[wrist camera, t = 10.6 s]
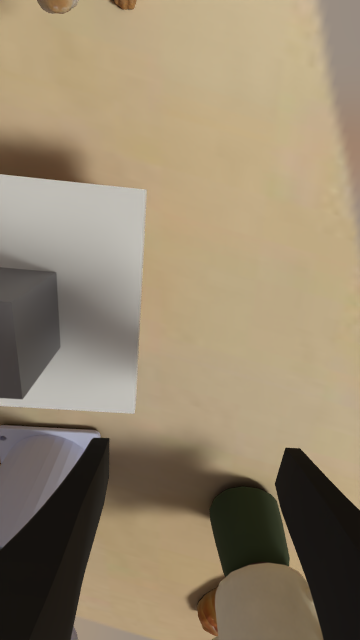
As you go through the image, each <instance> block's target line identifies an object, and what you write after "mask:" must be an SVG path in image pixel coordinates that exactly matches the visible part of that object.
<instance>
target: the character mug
mask: <svg viewBox="0 0 360 640" xmlns="http://www.w3.org/2000/svg"><path fill="white" fill-rule="evenodd" d="M209 510H210V521H211V525H212V530H213V534H214V539H215V543H216V547H217V550H218V554H219V558H220V561H221V565H222V569H223V573H224V575H225V578H224V579H223V580H222V581H221V582H220V583H219V586H218V588H217V591H216V594H215V610H216V619H217V628H218V636H217V637H215V638H213V639H212V640H323V636H322V632H321V628H320V624H319V620H318V617H317V613H316V610H315V606H314V603H313V599H312V595H311V592H310V588H309V585H308V583H307V581H306V580H305V579H304V578H303V576H302V575H301V574H300V573H299V572H298V571H296V570H294V569H292V568H291V567H289V553H288V548H287V543H286V538H285V533H284V528H283V523H282V519H281V515H280V511H279V508H278V504H277V501H276V500H275V498H274V497H273V496H272V495H271V494H269V493H267V492H265V491H263V490H261V489H258V488H251V487H244V486H242V487H237V488H231V489H227V490H225V491H224V492H222V493H221V494H219V495H218V496H217V497H215V499H214V501H213V503H212V505H211V507H210V509H209Z"/></svg>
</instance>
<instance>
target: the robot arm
mask: <svg viewBox="0 0 360 640" xmlns="http://www.w3.org/2000/svg"><path fill="white" fill-rule="evenodd" d="M4 436H5V437H4ZM0 460H1V465H0V640H78V637H77V632H76V630H75V628H74V626H73V625H74V620H75V615H76V610H77V605H78V601H79V596H80V591H81V586H82V581H83V577H84V573H85V569H86V566H87V562H88V559H89V555H90V551H91V548H92V544H93V541H94V537H95V534H96V530H97V527H98V523H99V520H100V516H101V512H102V509H103V505H104V501H105V495H106V490H107V484H108V478H109V438H100V433H99V432H98V431H96V430H83V429H65V428H47V427H28V426H10V425H1V426H0ZM275 486H276V490H277V495H278V499H279V503H280V507H281V511H282V514H283V516H284V519H285V522H286V525H287V527H288V530H289V533H290V536H291V538H292V541H293V544H294V546H295V549H296V552H297V555H298V557H299V560H300V563H301V565H302V568H303V571H304V573H305V576H306V579H307V582H308V585H309V588H310V592H311V595H312V599H313V603H314V606H315V610H316V613H317V617H318V620H319V624H320V628H321V632H322V636H323V640H360V510H359V509H358V508H357V507H356V506H355V505H354V504H353V503H352V502H351V501H350V500H349V499H347V498H346V497H345V496H344V494H343V493H342V492H341V491H340V490H339V489H338V488H337V487H336V486H335V485H334V484H333V483H332V482H331V481H330V480H329V479H328V478H327V477H326V476H325V475H324V474H323V473H322V471H321V470H320V469H319V468H318V467H317V466H316V465H315V464H314V463H313V462H312V461H311V460H310V459H309V457H308V456H307V455H306V454H305V453H304V452H303V451H302V450H301V449H300V448H285V451H284V455H283V458H282V462H281V465H280V468H279V472H278V475H277V478H276V482H275Z"/></svg>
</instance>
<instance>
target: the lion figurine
mask: <svg viewBox="0 0 360 640" xmlns="http://www.w3.org/2000/svg"><path fill="white" fill-rule="evenodd" d="M37 1H38V3H39V5H40V6H41V8H42V9H43V10H45V11H46V12H48V13H52V14H53V13H60V14H63V13H66V12H68V11H70V10H71V8H73V7H75V6H76V5H77V3H78V0H37ZM114 2H115V4H116V5H118V6H120V7H121V8H122V9H125V10H126V9H134V7H135V4H136V0H114Z"/></svg>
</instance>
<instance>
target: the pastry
mask: <svg viewBox="0 0 360 640" xmlns="http://www.w3.org/2000/svg"><path fill="white" fill-rule="evenodd" d="M217 588H218V587H217ZM217 588H215V589H213V590H211V591H210V592H208V593H207V594H205V595H204V597H203V598H202V599H201V600H200V601H199V603H198V606H197V611H198V617H199V620H200V622H201V624H202V627H203V629H204V630H205V631H207V632H209V633H210V634H212V635H215V636H218V628H217V619H216V610H215V594H216V591H217Z"/></svg>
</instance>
